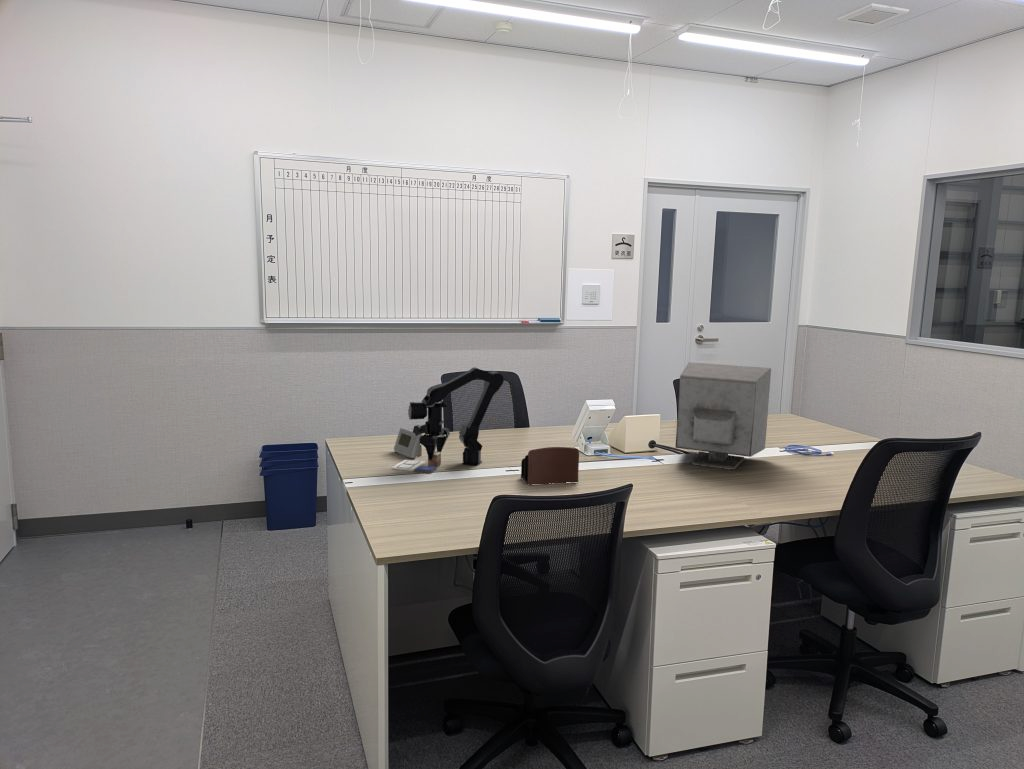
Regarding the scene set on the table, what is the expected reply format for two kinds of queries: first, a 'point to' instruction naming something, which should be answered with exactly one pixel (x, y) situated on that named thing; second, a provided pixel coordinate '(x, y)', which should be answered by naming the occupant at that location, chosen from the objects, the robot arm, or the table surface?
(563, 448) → the letter holder
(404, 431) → the digital clock
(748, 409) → the crt monitor
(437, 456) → the beige block
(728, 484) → the table surface
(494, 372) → the robot arm
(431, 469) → the ink pad
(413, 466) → the sheet
